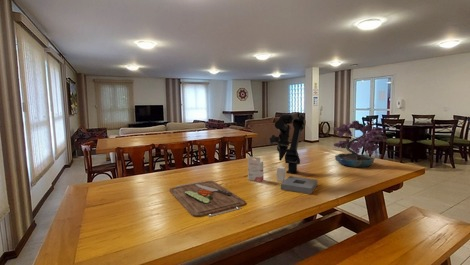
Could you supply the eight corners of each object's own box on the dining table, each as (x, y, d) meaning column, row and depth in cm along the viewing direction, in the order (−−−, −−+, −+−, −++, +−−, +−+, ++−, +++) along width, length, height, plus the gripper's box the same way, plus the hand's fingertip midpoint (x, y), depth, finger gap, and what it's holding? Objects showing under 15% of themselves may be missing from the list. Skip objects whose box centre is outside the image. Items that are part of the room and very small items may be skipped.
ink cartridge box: (263, 179, 154) (263, 156, 152) (260, 182, 150) (260, 157, 148) (251, 177, 158) (250, 154, 156) (247, 180, 154) (247, 156, 152)
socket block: (289, 181, 151) (289, 176, 150) (317, 184, 143) (317, 179, 143) (280, 189, 137) (280, 183, 137) (310, 194, 129) (311, 188, 129)
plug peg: (279, 179, 155) (279, 166, 154) (285, 179, 153) (285, 167, 152) (276, 180, 152) (276, 167, 151) (283, 181, 150) (283, 168, 149)
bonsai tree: (325, 162, 194) (327, 120, 190) (349, 158, 206) (351, 118, 202) (367, 173, 163) (370, 123, 159) (393, 167, 175) (396, 121, 171)
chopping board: (166, 189, 142) (166, 183, 141) (210, 181, 155) (210, 176, 154) (196, 221, 103) (196, 214, 102) (251, 207, 116) (251, 200, 116)
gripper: (271, 135, 163) (267, 159, 159) (271, 128, 145) (266, 154, 141) (288, 138, 161) (284, 162, 157) (290, 131, 143) (286, 158, 140)
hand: (280, 159), depth 149 cm, fingers open, 9 cm apart
